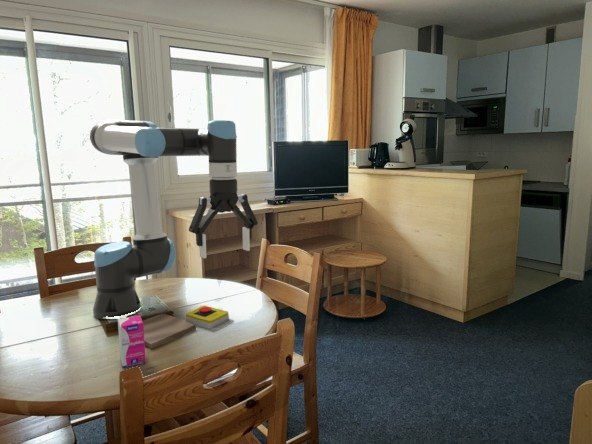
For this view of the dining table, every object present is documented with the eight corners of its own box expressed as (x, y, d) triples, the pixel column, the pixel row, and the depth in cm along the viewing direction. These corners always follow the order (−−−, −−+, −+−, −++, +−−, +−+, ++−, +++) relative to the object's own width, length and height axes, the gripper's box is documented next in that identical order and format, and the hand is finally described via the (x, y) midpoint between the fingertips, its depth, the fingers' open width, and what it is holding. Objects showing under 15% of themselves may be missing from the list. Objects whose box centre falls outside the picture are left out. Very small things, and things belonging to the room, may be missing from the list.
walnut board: (119, 334, 130) (118, 329, 129) (163, 317, 142) (163, 313, 142) (151, 348, 120) (151, 343, 120) (195, 329, 133) (195, 324, 133)
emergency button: (200, 300, 147) (235, 309, 139) (201, 313, 147) (235, 322, 140) (180, 309, 139) (215, 319, 131) (181, 322, 140) (215, 332, 132)
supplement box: (122, 368, 110) (119, 326, 108) (120, 358, 115) (116, 318, 113) (146, 363, 112) (143, 322, 110) (143, 353, 118) (140, 314, 116)
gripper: (185, 181, 108) (189, 263, 111) (268, 177, 122) (269, 249, 126) (174, 179, 114) (177, 257, 117) (255, 175, 128) (256, 244, 132)
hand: (225, 253), depth 122 cm, fingers open, 13 cm apart
